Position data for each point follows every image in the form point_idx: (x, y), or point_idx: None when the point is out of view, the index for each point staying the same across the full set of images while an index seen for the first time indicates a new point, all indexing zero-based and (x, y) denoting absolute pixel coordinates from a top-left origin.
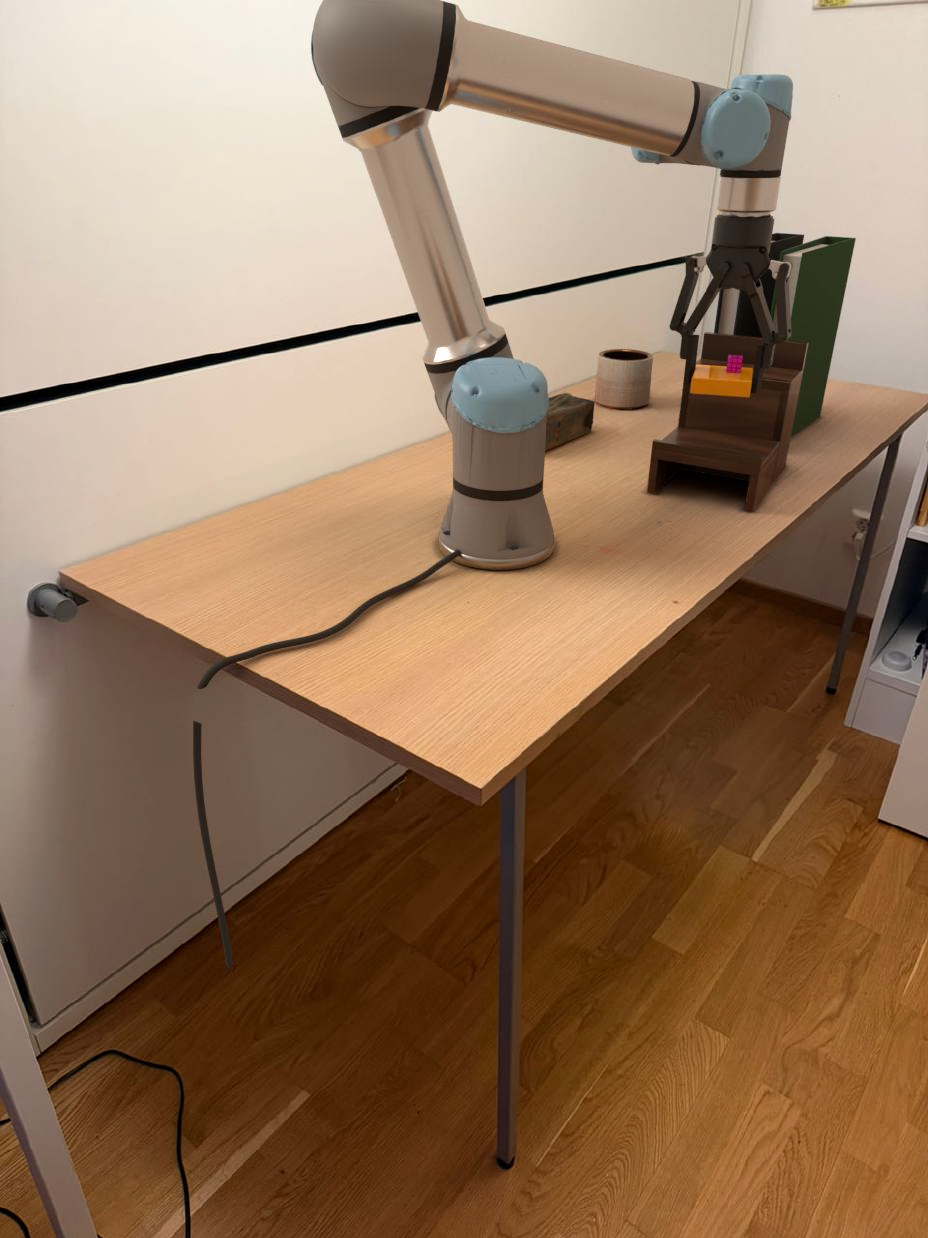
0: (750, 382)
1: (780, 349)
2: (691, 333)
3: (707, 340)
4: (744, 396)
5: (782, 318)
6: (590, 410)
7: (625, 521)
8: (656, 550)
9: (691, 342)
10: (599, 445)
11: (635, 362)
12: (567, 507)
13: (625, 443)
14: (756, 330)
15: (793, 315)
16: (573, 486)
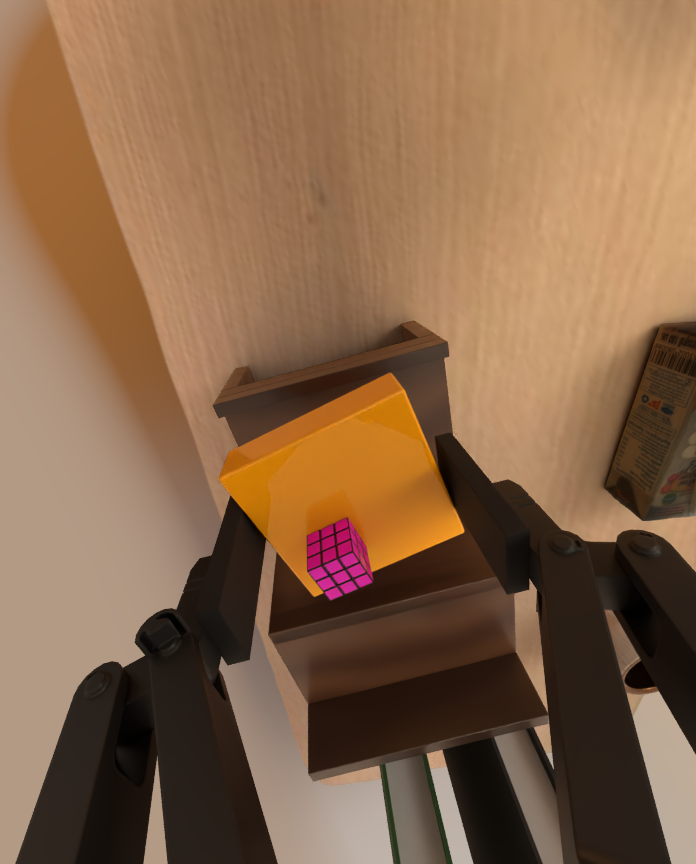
0: (221, 476)
1: (361, 736)
2: (535, 565)
3: (528, 698)
4: (240, 446)
5: (57, 800)
6: (635, 503)
7: (373, 148)
8: (237, 31)
9: (503, 520)
10: (571, 451)
11: (636, 655)
12: (503, 126)
13: (538, 484)
14: (482, 792)
15: (395, 856)
16: (538, 248)
